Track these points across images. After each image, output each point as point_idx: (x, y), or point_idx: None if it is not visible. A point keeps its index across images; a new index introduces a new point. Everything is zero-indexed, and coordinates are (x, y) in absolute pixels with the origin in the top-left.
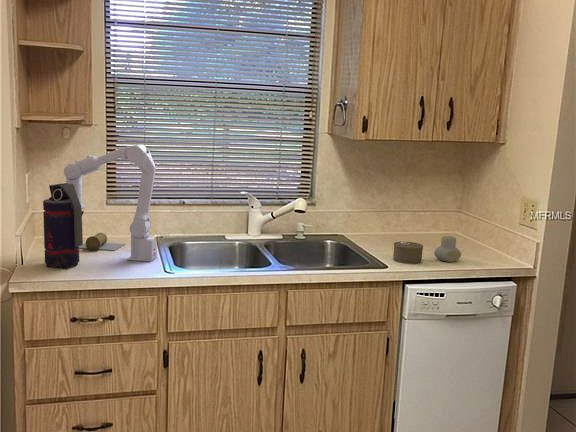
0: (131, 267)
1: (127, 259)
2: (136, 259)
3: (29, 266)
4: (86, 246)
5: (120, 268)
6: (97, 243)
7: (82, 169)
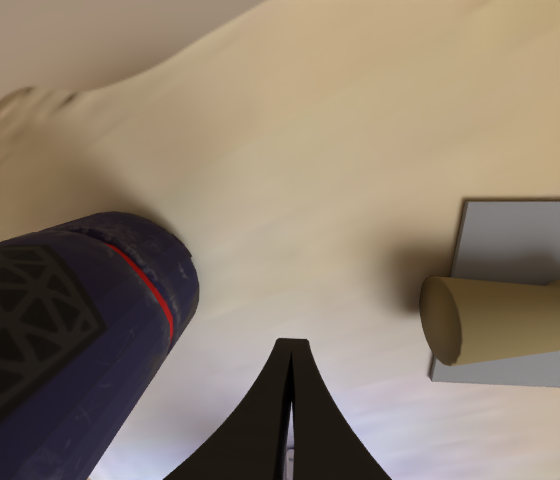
0: None
1: (287, 451)
2: (287, 477)
3: (57, 152)
4: (433, 276)
5: (183, 451)
6: (436, 342)
7: None
